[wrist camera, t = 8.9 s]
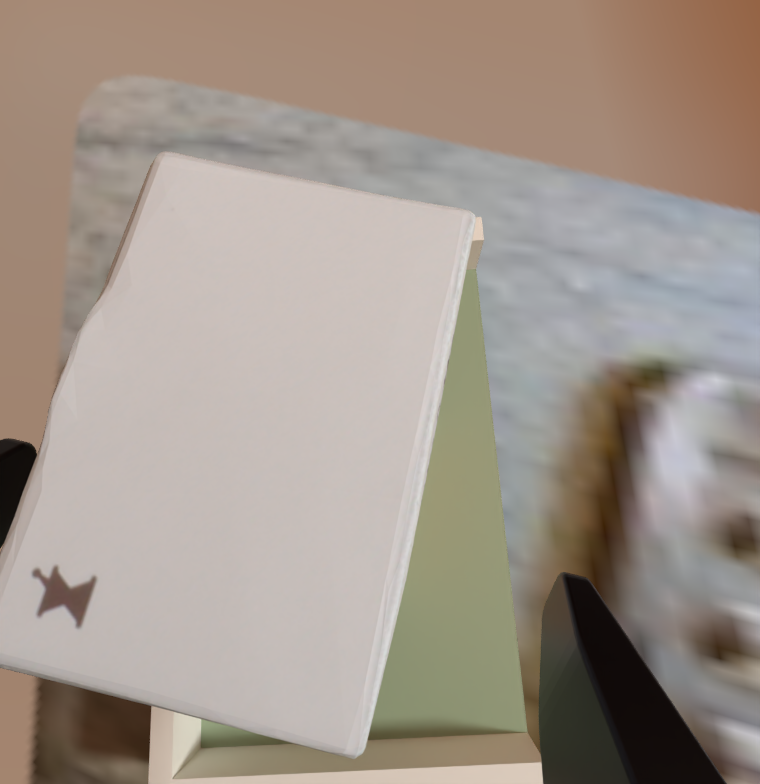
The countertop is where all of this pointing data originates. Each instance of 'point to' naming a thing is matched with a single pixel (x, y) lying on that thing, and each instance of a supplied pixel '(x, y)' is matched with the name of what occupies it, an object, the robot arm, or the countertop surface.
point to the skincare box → (240, 454)
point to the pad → (415, 631)
